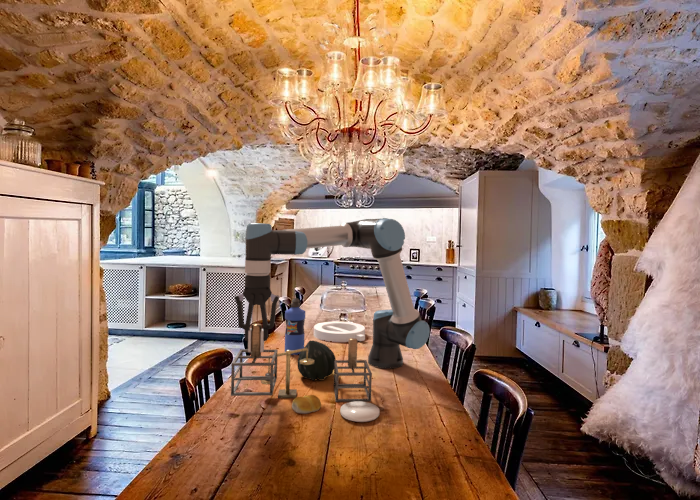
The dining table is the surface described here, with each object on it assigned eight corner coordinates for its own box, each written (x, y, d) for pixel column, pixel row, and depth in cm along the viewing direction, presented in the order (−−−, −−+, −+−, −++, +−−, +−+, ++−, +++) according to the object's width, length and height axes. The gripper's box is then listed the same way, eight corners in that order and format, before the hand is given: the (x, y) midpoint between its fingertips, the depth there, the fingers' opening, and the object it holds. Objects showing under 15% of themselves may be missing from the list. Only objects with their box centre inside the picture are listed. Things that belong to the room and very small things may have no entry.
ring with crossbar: (365, 343, 200) (365, 334, 200) (310, 341, 200) (311, 332, 200) (364, 330, 228) (364, 322, 227) (316, 328, 228) (316, 320, 228)
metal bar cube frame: (365, 385, 143) (367, 334, 142) (371, 401, 129) (372, 344, 128) (333, 385, 142) (334, 334, 141) (335, 401, 128) (337, 344, 127)
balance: (313, 391, 136) (314, 345, 135) (313, 397, 131) (314, 349, 130) (261, 392, 134) (262, 345, 133) (259, 398, 129) (260, 349, 128)
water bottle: (298, 356, 175) (300, 300, 174) (280, 353, 178) (281, 299, 177) (307, 350, 184) (309, 297, 183) (290, 348, 187) (291, 296, 186)
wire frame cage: (276, 378, 126) (278, 320, 126) (272, 395, 113) (273, 330, 112) (239, 378, 125) (241, 319, 125) (230, 395, 112) (232, 330, 111)
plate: (375, 405, 126) (376, 401, 126) (382, 423, 114) (382, 418, 114) (338, 406, 125) (339, 401, 125) (341, 424, 113) (341, 419, 113)
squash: (348, 361, 152) (326, 330, 156) (330, 375, 139) (306, 340, 142) (324, 380, 158) (303, 349, 161) (304, 394, 144) (282, 360, 147)
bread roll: (325, 410, 122) (325, 397, 122) (299, 416, 117) (299, 403, 117) (313, 400, 129) (313, 388, 129) (288, 406, 124) (288, 393, 124)
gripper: (285, 273, 122) (283, 347, 123) (233, 272, 121) (231, 347, 122) (283, 276, 115) (281, 354, 116) (227, 274, 113) (226, 354, 114)
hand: (256, 350), depth 119 cm, fingers closed on wire frame cage, 3 cm apart
